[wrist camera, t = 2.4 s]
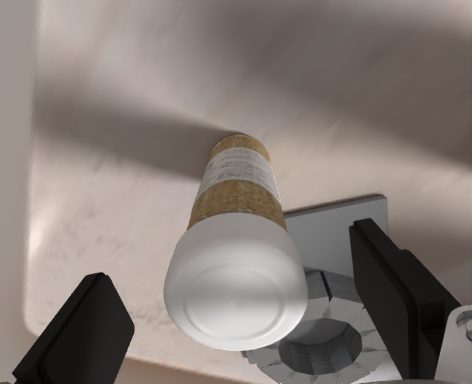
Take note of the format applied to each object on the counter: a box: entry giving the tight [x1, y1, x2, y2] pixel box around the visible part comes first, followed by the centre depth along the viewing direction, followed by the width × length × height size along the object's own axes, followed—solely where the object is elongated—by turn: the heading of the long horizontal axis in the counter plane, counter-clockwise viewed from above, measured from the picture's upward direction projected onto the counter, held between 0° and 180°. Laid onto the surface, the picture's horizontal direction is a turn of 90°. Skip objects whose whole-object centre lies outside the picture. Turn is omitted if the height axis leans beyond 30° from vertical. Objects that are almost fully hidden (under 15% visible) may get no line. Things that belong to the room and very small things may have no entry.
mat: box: [245, 195, 388, 364], centre depth 25 cm, size 16×14×1 cm
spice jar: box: [164, 134, 308, 351], centre depth 15 cm, size 5×5×13 cm
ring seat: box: [252, 270, 388, 384], centre depth 25 cm, size 11×11×3 cm
